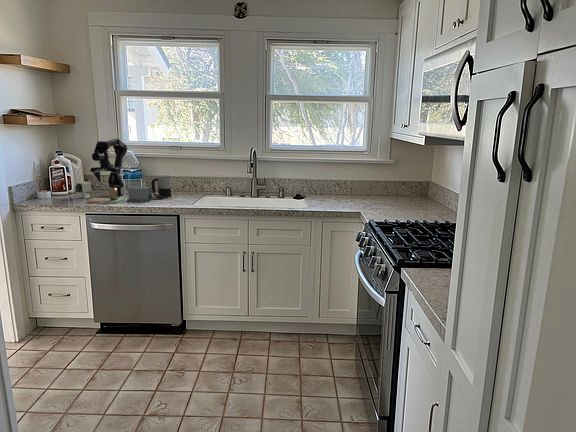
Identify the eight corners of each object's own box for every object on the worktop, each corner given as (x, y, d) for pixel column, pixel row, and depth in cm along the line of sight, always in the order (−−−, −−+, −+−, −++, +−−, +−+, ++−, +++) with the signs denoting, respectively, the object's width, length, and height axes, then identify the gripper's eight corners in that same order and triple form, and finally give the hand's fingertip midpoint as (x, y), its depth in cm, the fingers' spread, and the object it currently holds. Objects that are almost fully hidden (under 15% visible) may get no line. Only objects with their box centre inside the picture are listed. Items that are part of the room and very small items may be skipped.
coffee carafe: (170, 194, 319) (169, 175, 316) (174, 198, 305) (173, 177, 302) (150, 196, 313) (149, 176, 310) (154, 199, 299) (152, 178, 296)
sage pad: (110, 200, 296) (110, 198, 296) (124, 200, 295) (124, 198, 295) (103, 203, 286) (103, 201, 286) (117, 203, 285) (117, 201, 285)
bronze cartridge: (112, 198, 293) (111, 187, 291) (119, 199, 292) (118, 187, 290) (108, 200, 288) (107, 188, 286) (115, 200, 288) (114, 188, 286)
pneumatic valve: (94, 196, 309) (93, 180, 306) (80, 199, 299) (79, 182, 296) (89, 196, 311) (87, 179, 309) (75, 198, 301) (73, 182, 298)
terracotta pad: (94, 200, 297) (94, 197, 297) (108, 200, 296) (107, 198, 296) (86, 202, 287) (86, 200, 287) (100, 203, 286) (100, 200, 286)
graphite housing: (132, 198, 302) (131, 186, 300) (154, 199, 301) (153, 186, 299) (127, 200, 295) (126, 188, 293) (149, 201, 293) (148, 188, 291)
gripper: (122, 158, 302) (124, 180, 305) (97, 158, 304) (99, 180, 307) (114, 160, 291) (116, 183, 295) (88, 159, 293) (91, 182, 297)
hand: (106, 182), depth 299 cm, fingers open, 9 cm apart
